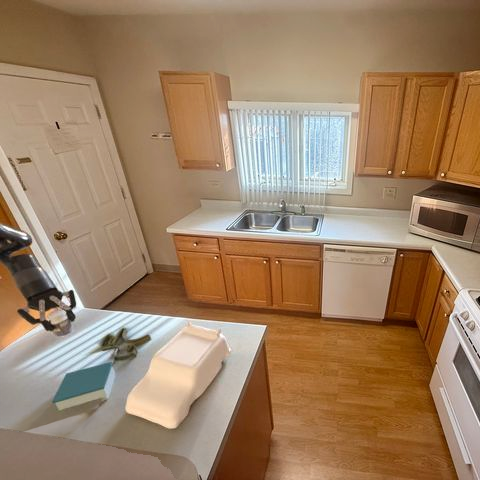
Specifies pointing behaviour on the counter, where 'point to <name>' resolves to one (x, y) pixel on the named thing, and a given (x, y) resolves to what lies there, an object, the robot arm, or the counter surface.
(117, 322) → the counter surface
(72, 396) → the teal book
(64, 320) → the pill bottle
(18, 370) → the counter surface
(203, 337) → the white toy car
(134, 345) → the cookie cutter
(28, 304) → the robot arm
